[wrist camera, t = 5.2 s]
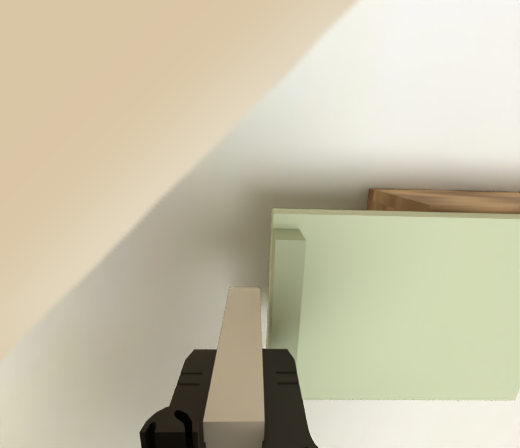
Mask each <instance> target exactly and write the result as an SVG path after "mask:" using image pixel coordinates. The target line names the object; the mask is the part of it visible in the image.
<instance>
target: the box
mask: <svg viewBox="0 0 520 448" xmlns="http://www.w3.org/2000/svg"><path fill="white" fill-rule="evenodd" d="M367 210H368V211H411V212H453V213H496V214H520V192H494V191H455V190H416V189H377V188H370V189H369V196H368V203H367Z"/></svg>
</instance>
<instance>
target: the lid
mask: <svg viewBox="0 0 520 448" xmlns="http://www.w3.org/2000/svg"><path fill="white" fill-rule="evenodd" d="M266 349H288V351H289V352H290V354H291V355H292V356H293V358H294V359H295V364H296V369H297V374H298V379H299V385H300V389H301V395H302V400H515V399H516V396H517V394H518V391H519V388H520V214H496V213H453V212H411V211H368V210H326V209H283V208H272V215H271V240H270V265H269V290H268V315H267V340H266Z"/></svg>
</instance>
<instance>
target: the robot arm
mask: <svg viewBox="0 0 520 448" xmlns="http://www.w3.org/2000/svg"><path fill="white" fill-rule="evenodd" d="M140 439H141V447H142V448H318V447H317V446H316V445H315V443H314V441H313V440H312V438H311V436H310V433H309V430H308V426H307V421H306V415H305V410H304V405H303V400H302V395H301V389H300V385H299V379H298V374H297V369H296V364H295V359H294V358H293V356H292V355H291V354H290V352H289V351H288V349H262V331H261V303H260V287H229V293H228V298H227V303H226V308H225V313H224V318H223V323H222V328H221V333H220V338H219V343H218V348H217V350H207V349H194V350H193V352H192V353H191V354H190V355H189V356H188V357H187V359H186V360H185V362H184V365H183V368H182V371H181V375H180V377H179V380H178V383H177V386H176V388H175V391H174V394H173V397H172V400H171V403H170V406H169V407H166V408H164V409H162V410H160V411H158V412H156V413H155V414H154V415H153V416H152V417H150V418H149V419H148V420H147V421H146V423H145V424H144V426H143V428H142V429H141V431H140Z"/></svg>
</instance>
